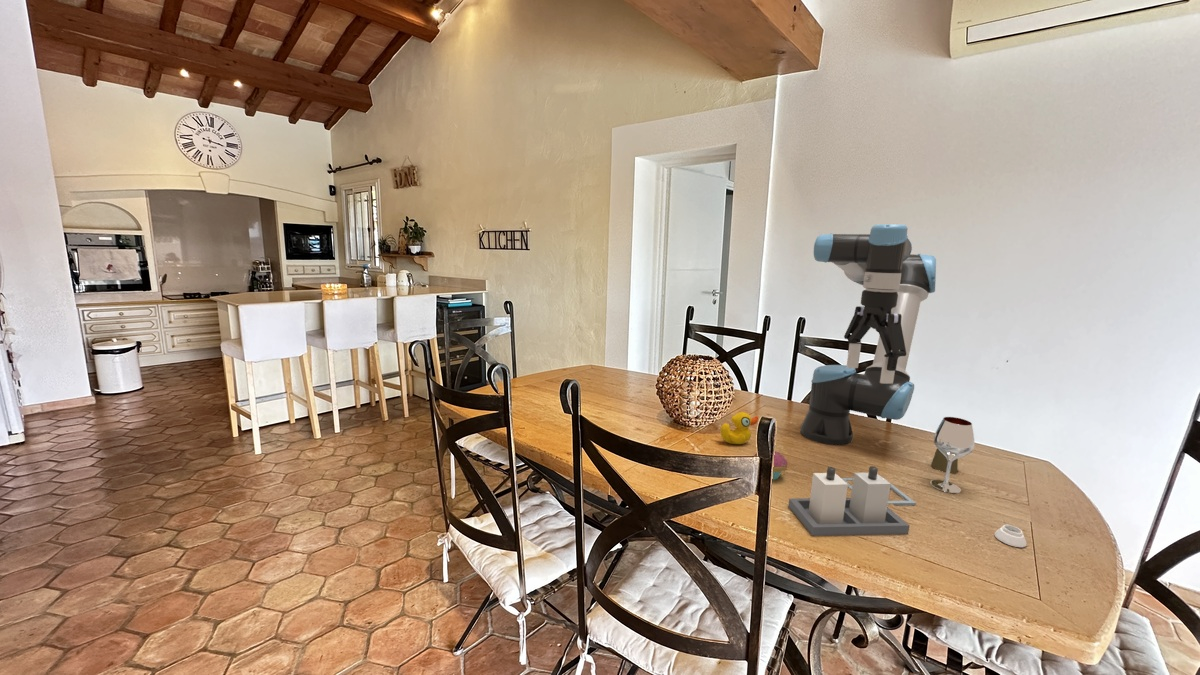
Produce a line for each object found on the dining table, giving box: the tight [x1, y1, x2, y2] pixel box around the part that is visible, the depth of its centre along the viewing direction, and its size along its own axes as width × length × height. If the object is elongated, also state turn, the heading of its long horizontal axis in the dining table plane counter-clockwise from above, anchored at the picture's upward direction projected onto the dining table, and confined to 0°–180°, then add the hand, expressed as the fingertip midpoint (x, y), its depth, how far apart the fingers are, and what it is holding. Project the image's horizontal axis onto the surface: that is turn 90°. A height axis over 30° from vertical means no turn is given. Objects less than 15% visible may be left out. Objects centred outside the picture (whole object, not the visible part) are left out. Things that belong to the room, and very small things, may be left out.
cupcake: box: [753, 450, 788, 481], centre depth 120 cm, size 9×8×12 cm
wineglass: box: [929, 416, 976, 494], centre depth 116 cm, size 8×8×18 cm
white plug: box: [808, 466, 849, 524], centre depth 101 cm, size 5×5×12 cm
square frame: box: [840, 477, 917, 506], centre depth 115 cm, size 12×12×1 cm
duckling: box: [720, 411, 759, 445], centre depth 141 cm, size 11×5×10 cm, turn 93°
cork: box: [930, 447, 959, 474], centre depth 127 cm, size 6×6×11 cm
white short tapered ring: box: [994, 524, 1028, 548], centre depth 96 cm, size 5×3×5 cm
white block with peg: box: [849, 465, 892, 524], centre depth 101 cm, size 5×5×12 cm
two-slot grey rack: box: [788, 497, 910, 537], centre depth 102 cm, size 11×21×2 cm, turn 93°
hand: (868, 375), depth 115 cm, fingers open, 13 cm apart
